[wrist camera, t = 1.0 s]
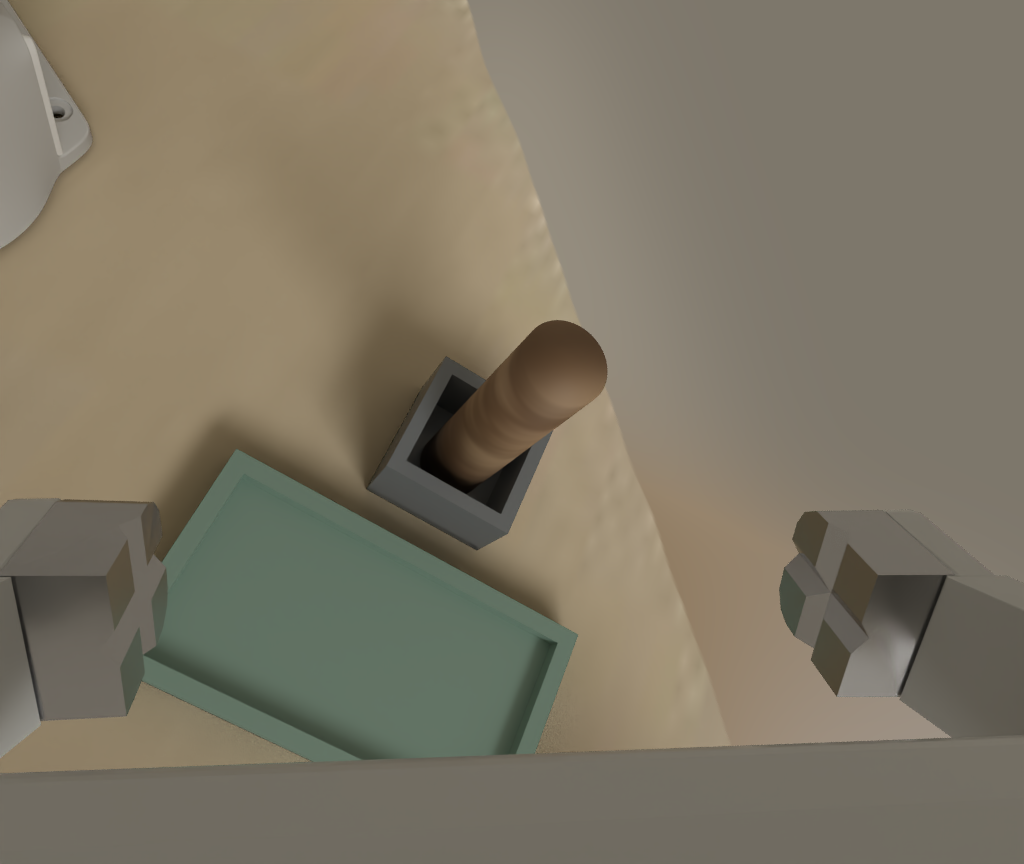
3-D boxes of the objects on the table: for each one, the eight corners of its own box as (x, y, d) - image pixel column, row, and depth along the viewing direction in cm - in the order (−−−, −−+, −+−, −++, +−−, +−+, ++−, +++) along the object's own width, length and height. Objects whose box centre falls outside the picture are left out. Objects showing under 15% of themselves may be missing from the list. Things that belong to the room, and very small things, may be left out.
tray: (101, 662, 38) (97, 659, 36) (234, 459, 44) (236, 448, 42) (486, 843, 42) (499, 849, 41) (563, 637, 48) (578, 634, 46)
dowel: (409, 445, 47) (509, 332, 33) (466, 425, 49) (583, 311, 35) (436, 505, 47) (548, 417, 33) (492, 483, 48) (621, 390, 35)
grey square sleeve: (366, 489, 46) (386, 465, 42) (421, 387, 49) (446, 356, 45) (476, 550, 47) (507, 533, 43) (523, 447, 51) (556, 422, 46)
